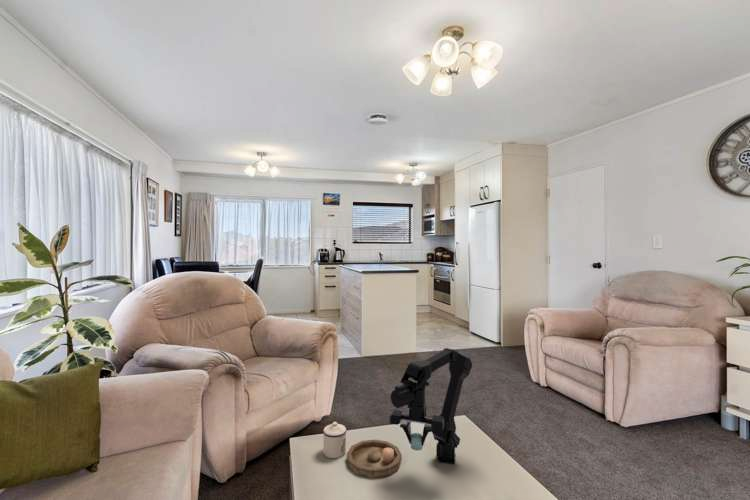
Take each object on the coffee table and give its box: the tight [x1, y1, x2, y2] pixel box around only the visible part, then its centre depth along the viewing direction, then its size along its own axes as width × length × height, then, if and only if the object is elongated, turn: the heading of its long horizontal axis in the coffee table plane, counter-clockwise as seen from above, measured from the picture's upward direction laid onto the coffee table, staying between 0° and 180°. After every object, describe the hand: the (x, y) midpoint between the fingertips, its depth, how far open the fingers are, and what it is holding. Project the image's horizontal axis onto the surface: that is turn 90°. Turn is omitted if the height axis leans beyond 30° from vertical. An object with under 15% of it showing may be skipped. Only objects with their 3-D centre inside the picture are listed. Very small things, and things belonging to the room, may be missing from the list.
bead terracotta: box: [383, 448, 394, 464], centre depth 131 cm, size 4×4×4 cm
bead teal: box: [410, 432, 423, 451], centre depth 124 cm, size 4×4×4 cm
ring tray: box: [346, 439, 403, 479], centre depth 133 cm, size 20×20×3 cm
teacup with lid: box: [322, 421, 347, 459], centre depth 140 cm, size 12×9×12 cm
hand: (416, 444), depth 125 cm, fingers closed on bead teal, 4 cm apart
